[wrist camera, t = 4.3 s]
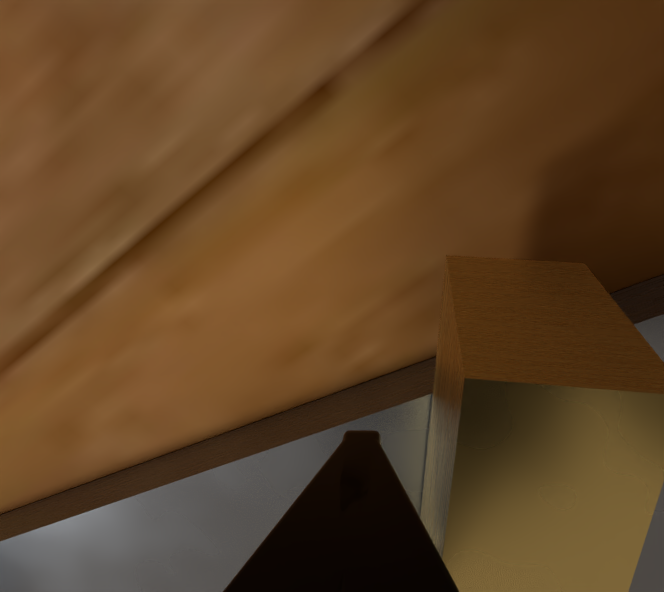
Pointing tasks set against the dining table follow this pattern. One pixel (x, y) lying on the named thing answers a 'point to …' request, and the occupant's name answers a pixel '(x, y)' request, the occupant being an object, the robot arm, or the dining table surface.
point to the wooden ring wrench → (540, 430)
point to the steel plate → (246, 490)
